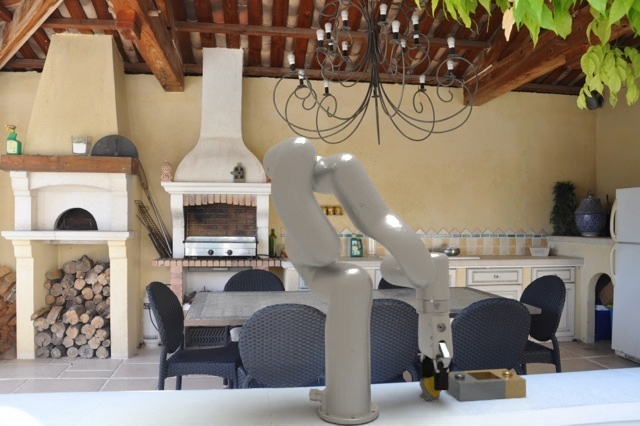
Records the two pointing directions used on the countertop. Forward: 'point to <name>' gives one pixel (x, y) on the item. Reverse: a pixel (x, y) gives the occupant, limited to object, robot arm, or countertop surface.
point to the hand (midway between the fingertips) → (434, 383)
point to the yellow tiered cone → (429, 389)
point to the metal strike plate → (486, 385)
